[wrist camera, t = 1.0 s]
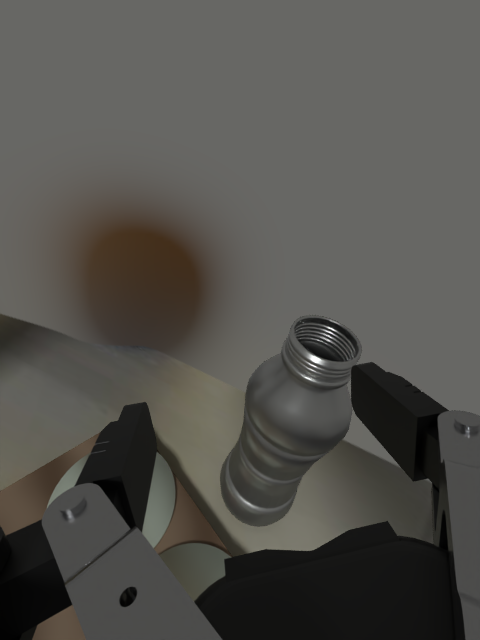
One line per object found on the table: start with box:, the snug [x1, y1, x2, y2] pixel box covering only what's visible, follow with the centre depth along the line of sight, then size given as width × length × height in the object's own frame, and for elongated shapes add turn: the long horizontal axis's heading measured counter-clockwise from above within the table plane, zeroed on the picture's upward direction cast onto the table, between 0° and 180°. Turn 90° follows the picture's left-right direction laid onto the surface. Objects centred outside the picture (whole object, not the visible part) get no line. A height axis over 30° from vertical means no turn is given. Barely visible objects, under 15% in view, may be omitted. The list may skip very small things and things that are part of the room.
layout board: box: [0, 433, 232, 640], centre depth 20 cm, size 16×23×4 cm
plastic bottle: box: [220, 315, 362, 527], centre depth 22 cm, size 6×7×20 cm
